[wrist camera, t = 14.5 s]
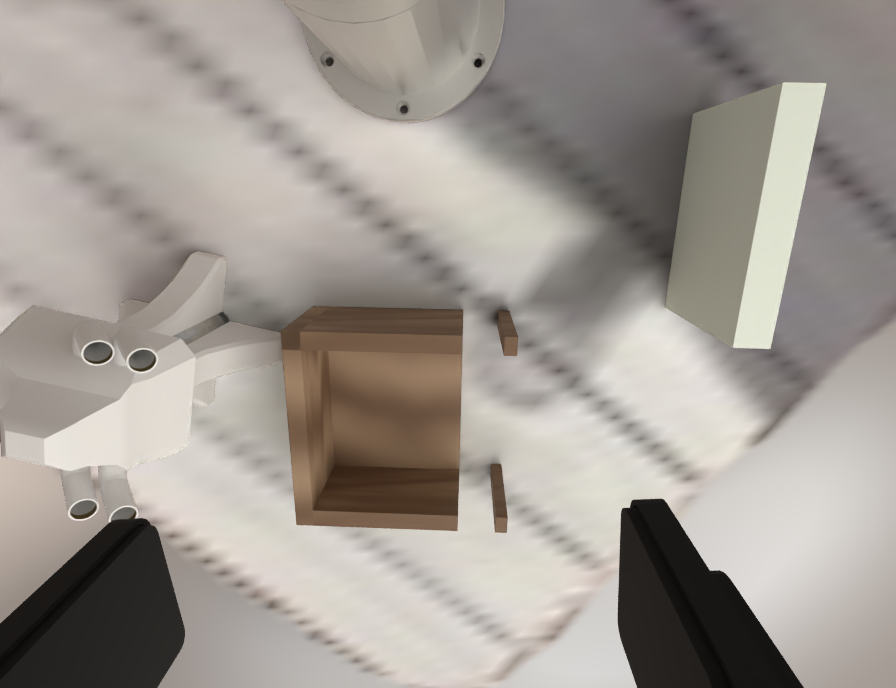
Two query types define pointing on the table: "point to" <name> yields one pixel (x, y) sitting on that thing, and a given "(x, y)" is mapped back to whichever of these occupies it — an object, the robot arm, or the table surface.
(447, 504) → the box
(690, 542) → the robot arm
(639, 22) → the table surface
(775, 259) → the cover plate
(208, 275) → the toy gun turret
